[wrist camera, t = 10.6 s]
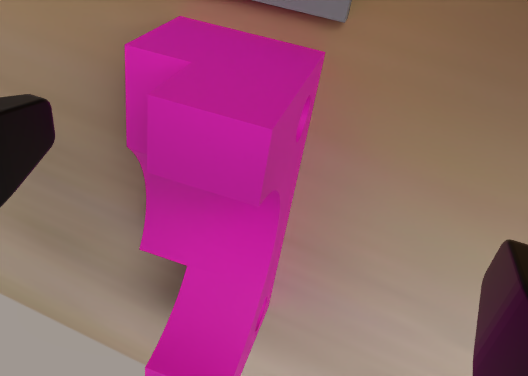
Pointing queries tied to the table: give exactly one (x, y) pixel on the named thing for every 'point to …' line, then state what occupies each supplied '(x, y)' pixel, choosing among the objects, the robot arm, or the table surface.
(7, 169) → the robot arm
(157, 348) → the toy block
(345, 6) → the frame
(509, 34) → the table surface
